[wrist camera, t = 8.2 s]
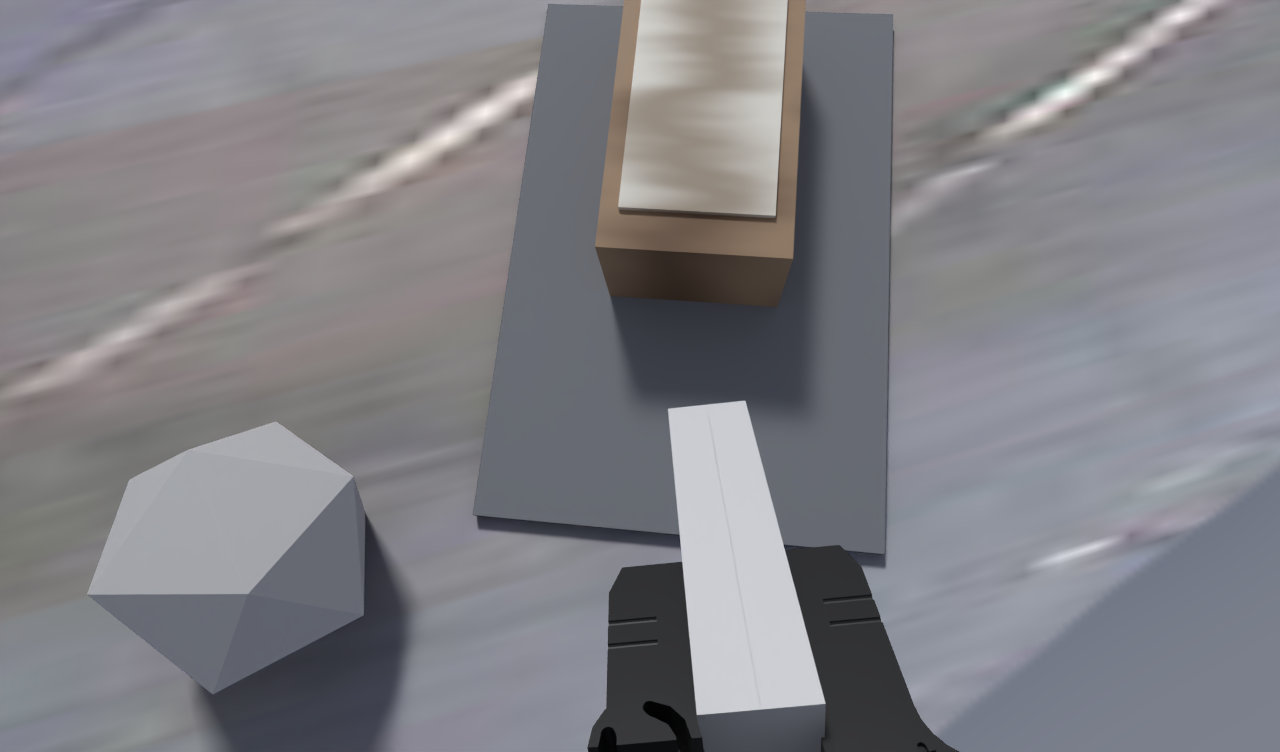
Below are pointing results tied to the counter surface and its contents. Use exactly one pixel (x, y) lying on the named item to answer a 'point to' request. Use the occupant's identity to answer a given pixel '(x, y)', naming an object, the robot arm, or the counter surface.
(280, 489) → the die
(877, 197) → the mat
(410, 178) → the counter surface
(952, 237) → the counter surface
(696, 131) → the label block
